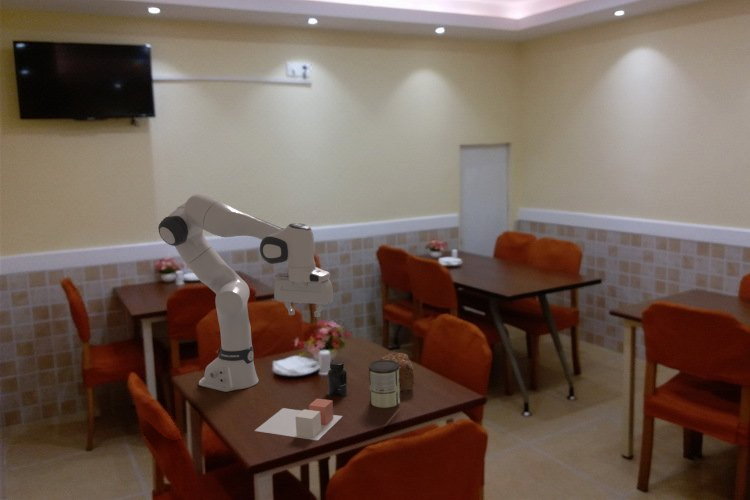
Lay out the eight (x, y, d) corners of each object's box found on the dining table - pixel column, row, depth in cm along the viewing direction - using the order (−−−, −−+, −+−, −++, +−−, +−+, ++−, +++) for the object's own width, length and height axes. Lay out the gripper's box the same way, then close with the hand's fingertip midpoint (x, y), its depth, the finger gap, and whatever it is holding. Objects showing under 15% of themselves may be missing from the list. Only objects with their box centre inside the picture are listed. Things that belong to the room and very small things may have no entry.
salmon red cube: (309, 423, 207) (308, 405, 206) (317, 416, 212) (316, 398, 211) (325, 425, 205) (324, 407, 204) (333, 418, 210) (332, 400, 209)
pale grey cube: (296, 435, 199) (295, 416, 198) (305, 427, 204) (304, 409, 203) (313, 437, 196) (312, 418, 195) (321, 429, 202) (320, 411, 201)
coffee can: (365, 401, 225) (364, 362, 222) (393, 396, 228) (392, 357, 226) (376, 412, 215) (375, 372, 213) (405, 407, 219) (404, 367, 216)
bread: (414, 391, 232) (414, 364, 231) (384, 393, 232) (384, 366, 230) (408, 373, 251) (407, 348, 249) (380, 374, 250) (379, 349, 248)
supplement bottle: (345, 399, 227) (343, 366, 225) (326, 398, 229) (324, 365, 227) (349, 391, 234) (348, 359, 232) (331, 390, 235) (329, 359, 233)
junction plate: (254, 433, 203) (254, 430, 203) (283, 410, 219) (283, 408, 219) (317, 443, 195) (317, 440, 195) (342, 419, 211) (342, 416, 211)
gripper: (269, 274, 211) (271, 316, 213) (326, 277, 203) (328, 320, 206) (278, 270, 217) (281, 311, 219) (334, 273, 209) (336, 315, 211)
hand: (304, 315), depth 212 cm, fingers open, 8 cm apart
